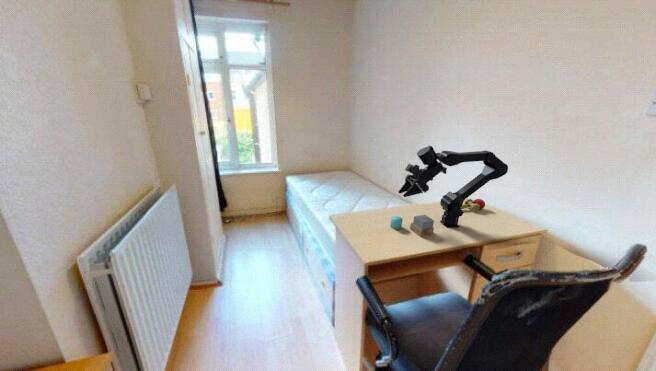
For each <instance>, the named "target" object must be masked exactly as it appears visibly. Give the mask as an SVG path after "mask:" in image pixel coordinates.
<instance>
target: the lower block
mask: <svg viewBox="0 0 656 371" xmlns="http://www.w3.org/2000/svg"><path fill="white" fill-rule="evenodd" d="M434 230H435V227H434V226H433V228H428V229H420V228H419V227H417V226H416V225H415V224H413V222H410V226H409V231H411V232H413V233H414V234H416V235H417V236H418V237H425V236H426V237H427V236H430V235H434Z"/></svg>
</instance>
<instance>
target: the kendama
mask: <svg viewBox="0 0 656 371" xmlns="http://www.w3.org/2000/svg"><path fill="white" fill-rule="evenodd" d="M485 206H486V202H485V201H484V200H483V199H482V198H476V199H474V200H473V199H471V198H468V199H467V198H466V199H465V200H464V202H463V204H462V206H461V207H460V209H461V210H463V209H467V208H469V209H470V211H471V212H473V213H476V212H478V211H479V210H483V209H484V208H485Z"/></svg>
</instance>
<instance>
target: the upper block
mask: <svg viewBox="0 0 656 371" xmlns="http://www.w3.org/2000/svg"><path fill="white" fill-rule="evenodd" d="M412 223H413V224H415V225H416V226H417V227H419V228H420V229H428V228H433V227H434V224H435V220H434V219H433V218H431V217H429V216H428V215H426V214H421V215H414V216H413V220H412Z"/></svg>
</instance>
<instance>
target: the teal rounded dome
mask: <svg viewBox="0 0 656 371" xmlns="http://www.w3.org/2000/svg"><path fill="white" fill-rule="evenodd" d="M402 226H403V217H401V216H398V215H393V216H391V218H390V228H391V229H393V230H397V231H399V230H402Z"/></svg>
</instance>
